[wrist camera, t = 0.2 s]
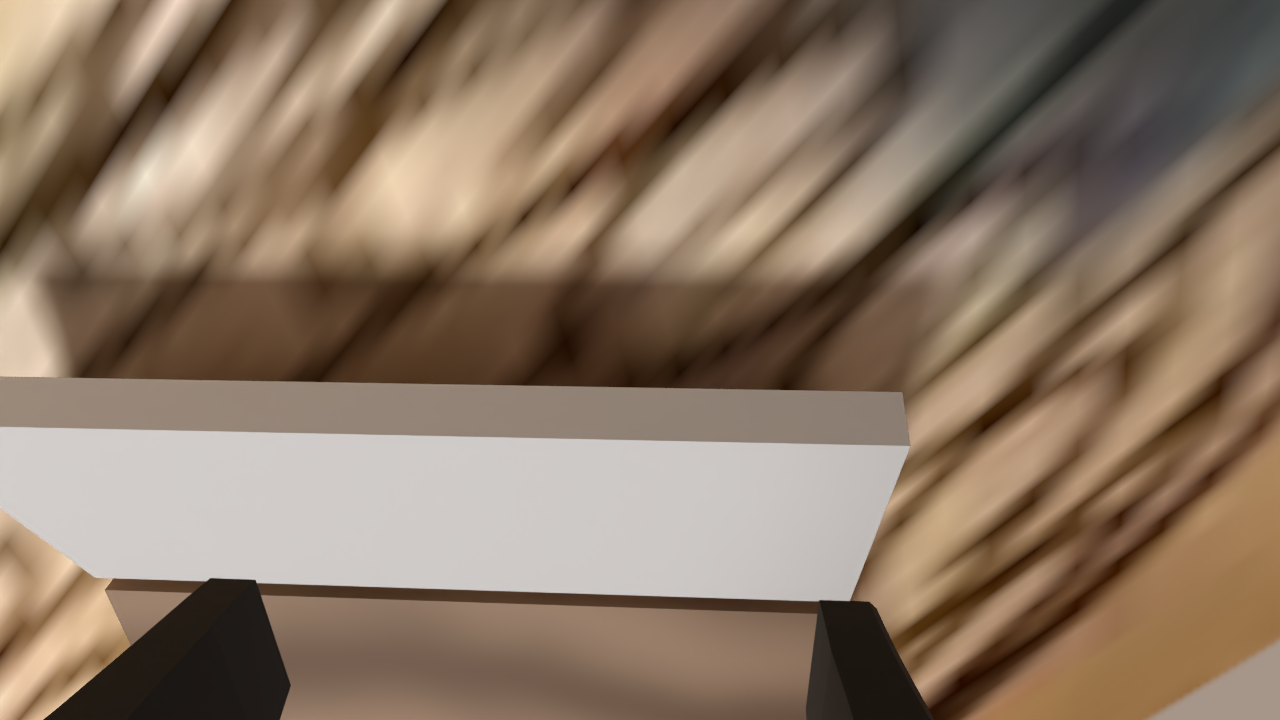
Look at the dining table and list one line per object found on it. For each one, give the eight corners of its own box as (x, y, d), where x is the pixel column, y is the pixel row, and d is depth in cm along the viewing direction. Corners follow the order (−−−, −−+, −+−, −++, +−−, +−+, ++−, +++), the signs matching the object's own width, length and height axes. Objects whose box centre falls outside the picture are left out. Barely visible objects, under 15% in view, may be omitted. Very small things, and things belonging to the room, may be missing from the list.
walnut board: (818, 742, 28) (822, 778, 26) (198, 716, 29) (179, 749, 28) (840, 580, 24) (846, 614, 23) (129, 558, 25) (104, 590, 24)
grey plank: (845, 558, 23) (849, 602, 22) (113, 536, 24) (95, 578, 24) (902, 392, 17) (910, 445, 16) (-82, 374, 18) (-114, 424, 18)
